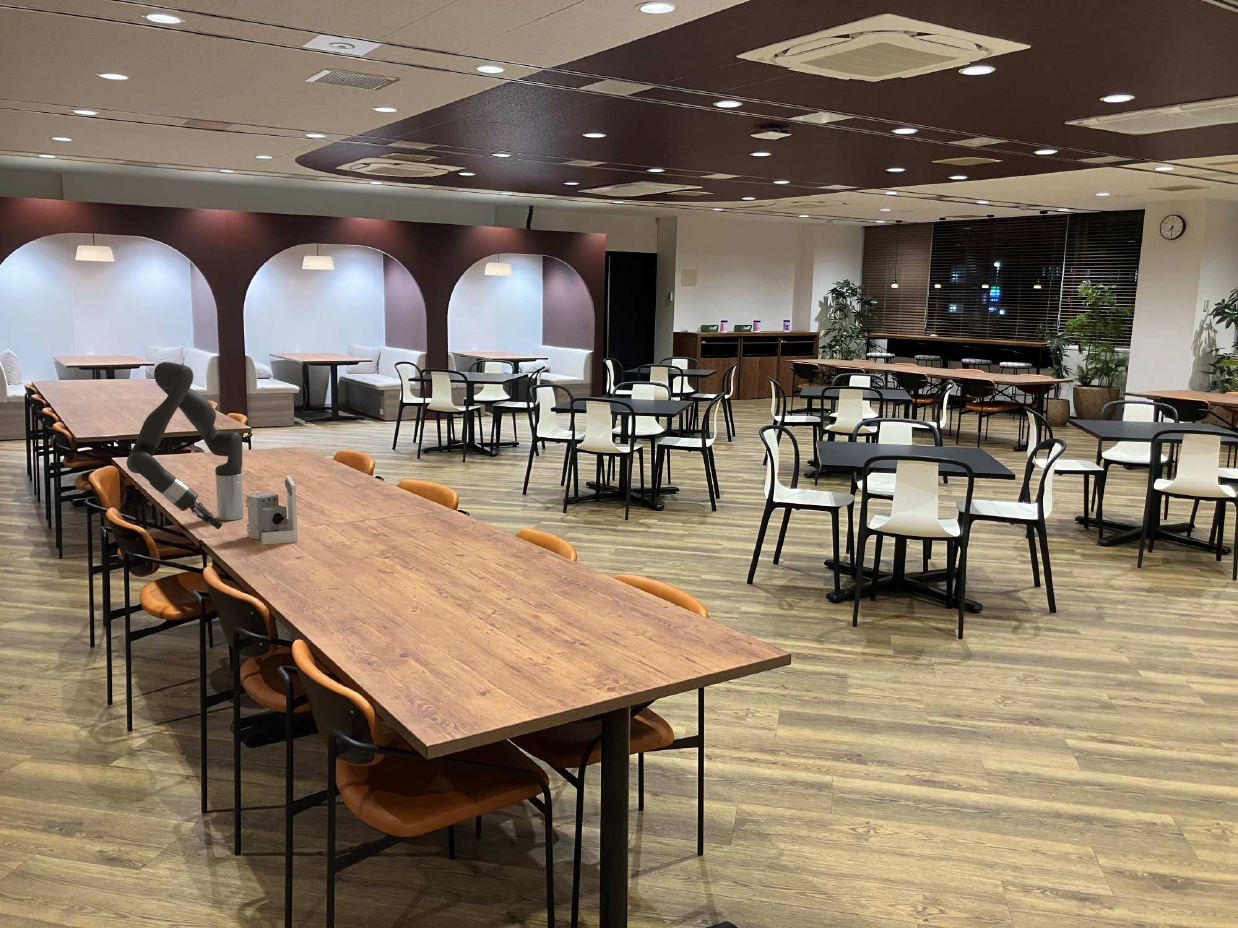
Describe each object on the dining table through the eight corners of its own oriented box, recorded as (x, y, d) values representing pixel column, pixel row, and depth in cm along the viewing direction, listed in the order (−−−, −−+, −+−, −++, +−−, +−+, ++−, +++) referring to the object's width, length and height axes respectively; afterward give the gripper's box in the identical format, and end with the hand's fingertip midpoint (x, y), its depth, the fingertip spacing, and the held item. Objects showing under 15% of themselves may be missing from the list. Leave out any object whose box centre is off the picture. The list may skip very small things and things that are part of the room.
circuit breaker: (272, 542, 340) (270, 500, 338) (247, 536, 349) (245, 495, 346) (290, 538, 347) (289, 497, 344) (265, 532, 355) (264, 491, 352)
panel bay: (257, 531, 356) (255, 477, 352) (291, 529, 360) (289, 475, 357) (262, 544, 338) (259, 487, 334) (297, 541, 342) (295, 485, 339)
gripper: (188, 489, 328) (229, 522, 335) (187, 483, 340) (227, 515, 347) (171, 506, 327) (213, 539, 334) (171, 499, 339) (211, 531, 346)
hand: (220, 526), depth 341 cm, fingers closed
